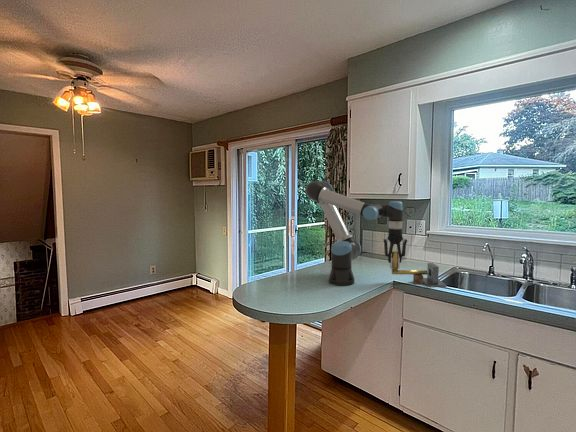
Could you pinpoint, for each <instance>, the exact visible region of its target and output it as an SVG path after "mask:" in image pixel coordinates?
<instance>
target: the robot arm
mask: <svg viewBox="0 0 576 432" xmlns="http://www.w3.org/2000/svg"><path fill="white" fill-rule="evenodd" d="M305 194H306V196H307V198H309V199H310V200H313V201H316V204H317V206H320V207H321V209H322V211H323V213H324V216H325V217H326V219H327V221H328V224H329V226H330V228H331V229H332V232H333V234H334V236H335V238H336V242H333V243H332V245H331V249H330V251H331V252H330V253H331V269H330V273H329V275H328V283H329V284H331V285H333V284H334V286H339V287H341V286H342V287H345V286H351V285H353V284H355V277H354V274H353V270H352V262H353V260H356V259H357V258H358V257H359V256H360V254H361V252H362V246H361V244H360V242H359V241H358V240H356V239H355V238H354V235H353V234H350V232H349V230H348V227H347V226H346V224H345V222H344V219H343V218H342V216H341V214H340V212H339V210H338V208H340V209H342V210H345V211H348V212H349V213H353V214H354V215H355V214H356V215H358V216H361V217H363V218H364V219H365V220H366V221H367V220H368V221H373V220H376V219H378V218H387V219H388V234H387V237H386V238H383V239H382V241H383V243H384V255H385V256H386V257H387V261H388V262H387V263H389V268H390V270H392V251H394V250H393V248H394V246H395V245H396V247H397V252H398V270H400V268H401V266H400V264H402V258H403V257H405V256H406V247H407V243H408V239H406V238H404V237H403V229H402V228H403V215H404V214H403V213H404V207H403V202H402V201H401V200H400V201H399V200H398V201H397V200H396V201H395V200H393V201H389V202H388V204H373V203H372V204H368V203H366V202H363V201H362V200H361V201H360V200H358V199H355V198H352V197H350V196H346V195H344V194H342V193H338V192H336V191H334V189H333V186H332V185H331V184H330V182H329V181H325V180H320V181H319V180H318V181H317V180H315V181H314V180H312V181H311V182H309V183H308V184H307V185H306V187H305ZM388 242H389V248H388ZM401 242H402V247H401Z"/></svg>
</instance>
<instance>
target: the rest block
mask: <svg viewBox="0 0 576 432" xmlns="http://www.w3.org/2000/svg"><path fill="white" fill-rule="evenodd" d="M412 275H413V274H412ZM423 278H424V275H413V279H412V280H413V281H412V282H414V284H415V285H417V284H418V285H424V283H423Z"/></svg>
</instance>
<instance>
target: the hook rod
mask: <svg viewBox="0 0 576 432" xmlns="http://www.w3.org/2000/svg"><path fill="white" fill-rule="evenodd" d="M391 257H392V269H391V274H392V275H423V276H424V275H426V276H427V269H426V270H423V269H422V270H421V269H420V270H417V269H416V270H415V269H413V270H411V269H409V270H408V269H406V270H405V269H401V270H400V269H398V257H399V256H398V251H394V250H392V255H391Z"/></svg>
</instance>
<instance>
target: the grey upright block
mask: <svg viewBox="0 0 576 432" xmlns="http://www.w3.org/2000/svg"><path fill="white" fill-rule="evenodd" d="M426 268H427V269H426V270H427V275H426V277H423V285H426V287H439V288H441V287H442V288H443V287H444V288H445V287H447V284H446V283H444V282H443V281H442V280H441V279H439V268H440V266H438V265H436V264H435V263H433V262H427V267H426Z"/></svg>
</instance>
